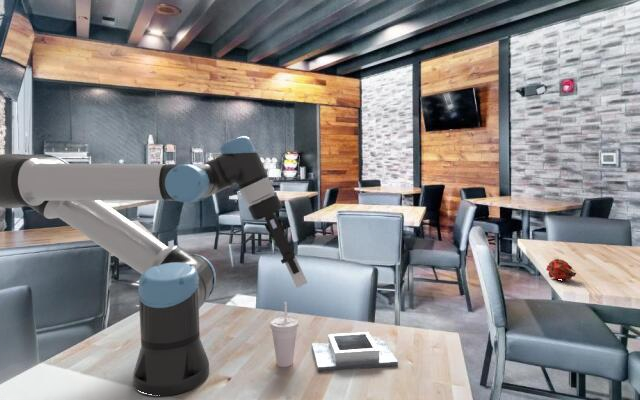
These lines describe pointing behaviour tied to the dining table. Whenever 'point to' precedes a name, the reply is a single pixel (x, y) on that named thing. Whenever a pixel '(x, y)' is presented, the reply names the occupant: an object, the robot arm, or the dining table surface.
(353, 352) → the collar
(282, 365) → the smoothie
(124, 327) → the dining table surface
